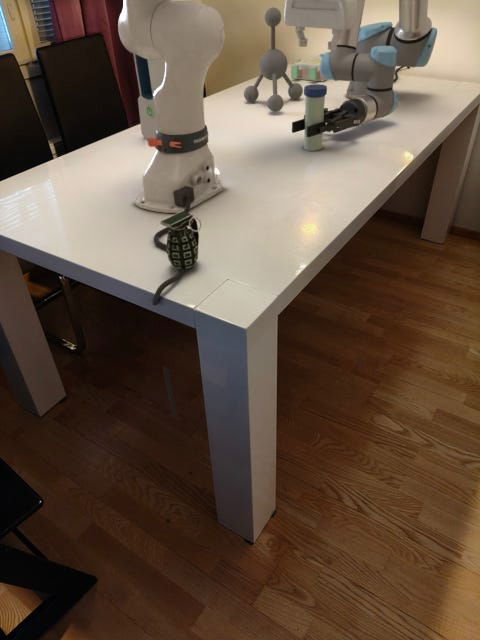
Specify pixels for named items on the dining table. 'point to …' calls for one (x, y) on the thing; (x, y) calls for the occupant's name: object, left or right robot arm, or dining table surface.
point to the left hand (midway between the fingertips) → (317, 48)
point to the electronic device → (148, 92)
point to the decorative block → (307, 69)
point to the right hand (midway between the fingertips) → (300, 129)
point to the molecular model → (273, 68)
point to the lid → (315, 90)
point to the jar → (313, 121)
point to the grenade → (182, 240)
